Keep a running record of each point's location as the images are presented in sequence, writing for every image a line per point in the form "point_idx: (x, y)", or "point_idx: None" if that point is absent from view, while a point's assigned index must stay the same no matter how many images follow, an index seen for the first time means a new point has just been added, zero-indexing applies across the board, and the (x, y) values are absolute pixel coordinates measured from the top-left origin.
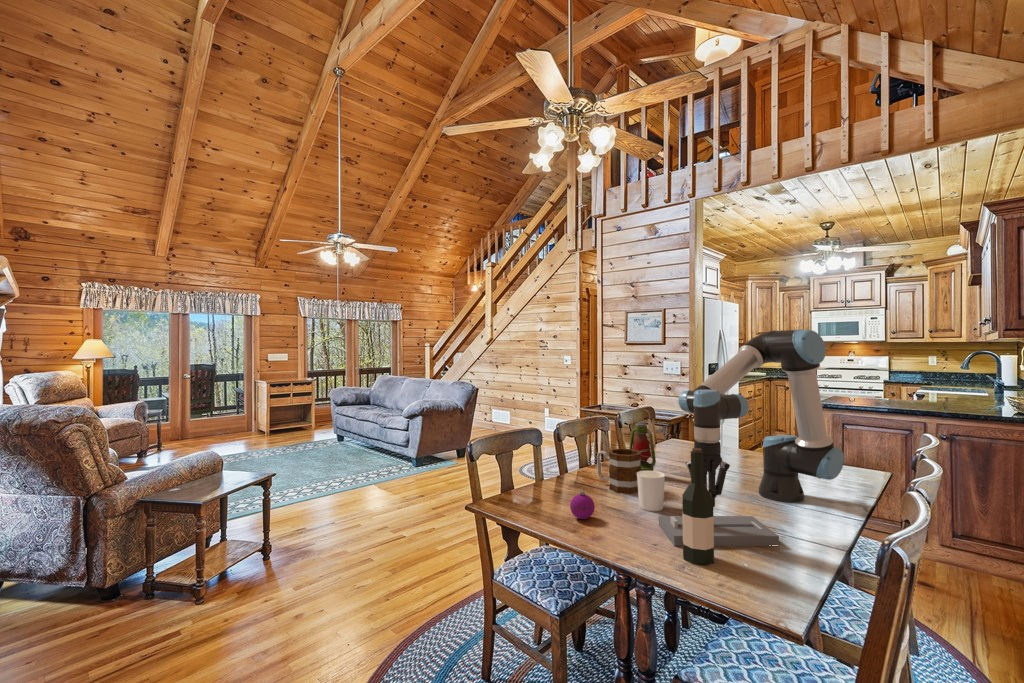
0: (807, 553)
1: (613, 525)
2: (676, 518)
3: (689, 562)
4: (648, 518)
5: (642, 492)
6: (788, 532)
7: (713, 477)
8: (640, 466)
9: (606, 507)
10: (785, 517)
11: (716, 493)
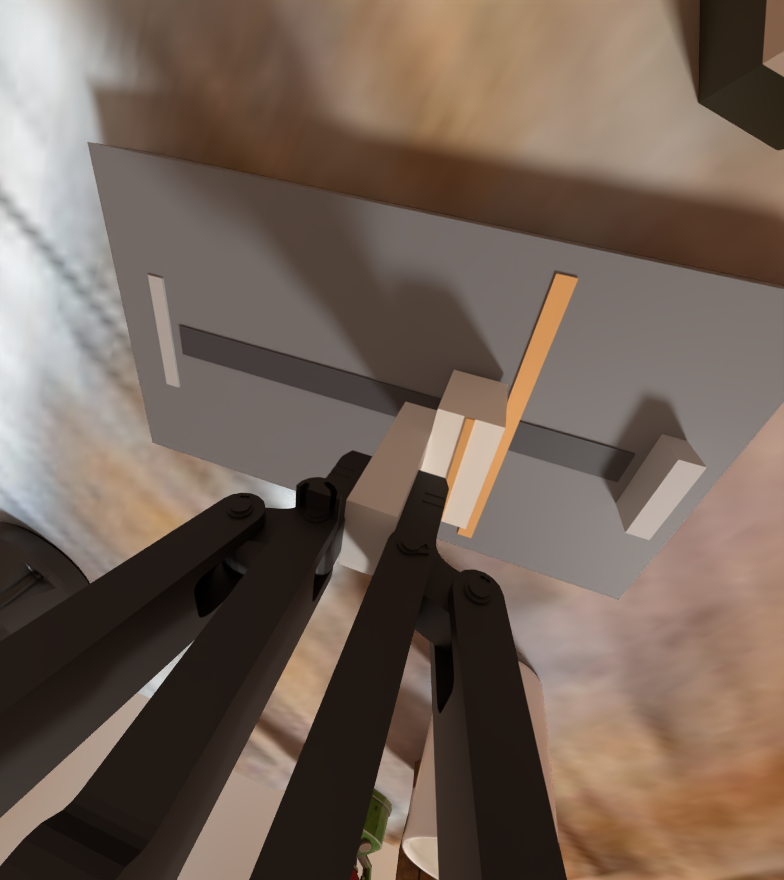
0: (23, 11)
1: None
2: (542, 543)
3: None
4: (591, 623)
5: (549, 771)
6: (68, 317)
7: (152, 754)
8: (403, 871)
9: (686, 752)
10: (55, 444)
11: (271, 524)
